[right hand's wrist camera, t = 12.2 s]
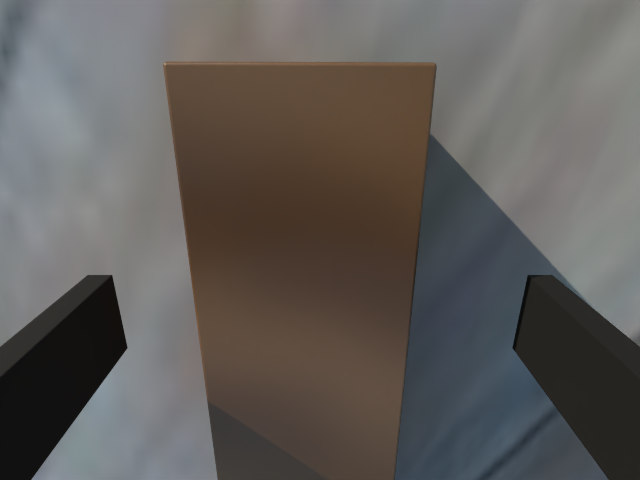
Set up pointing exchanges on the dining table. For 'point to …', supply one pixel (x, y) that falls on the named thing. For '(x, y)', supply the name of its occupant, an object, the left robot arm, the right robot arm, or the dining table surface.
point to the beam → (302, 256)
